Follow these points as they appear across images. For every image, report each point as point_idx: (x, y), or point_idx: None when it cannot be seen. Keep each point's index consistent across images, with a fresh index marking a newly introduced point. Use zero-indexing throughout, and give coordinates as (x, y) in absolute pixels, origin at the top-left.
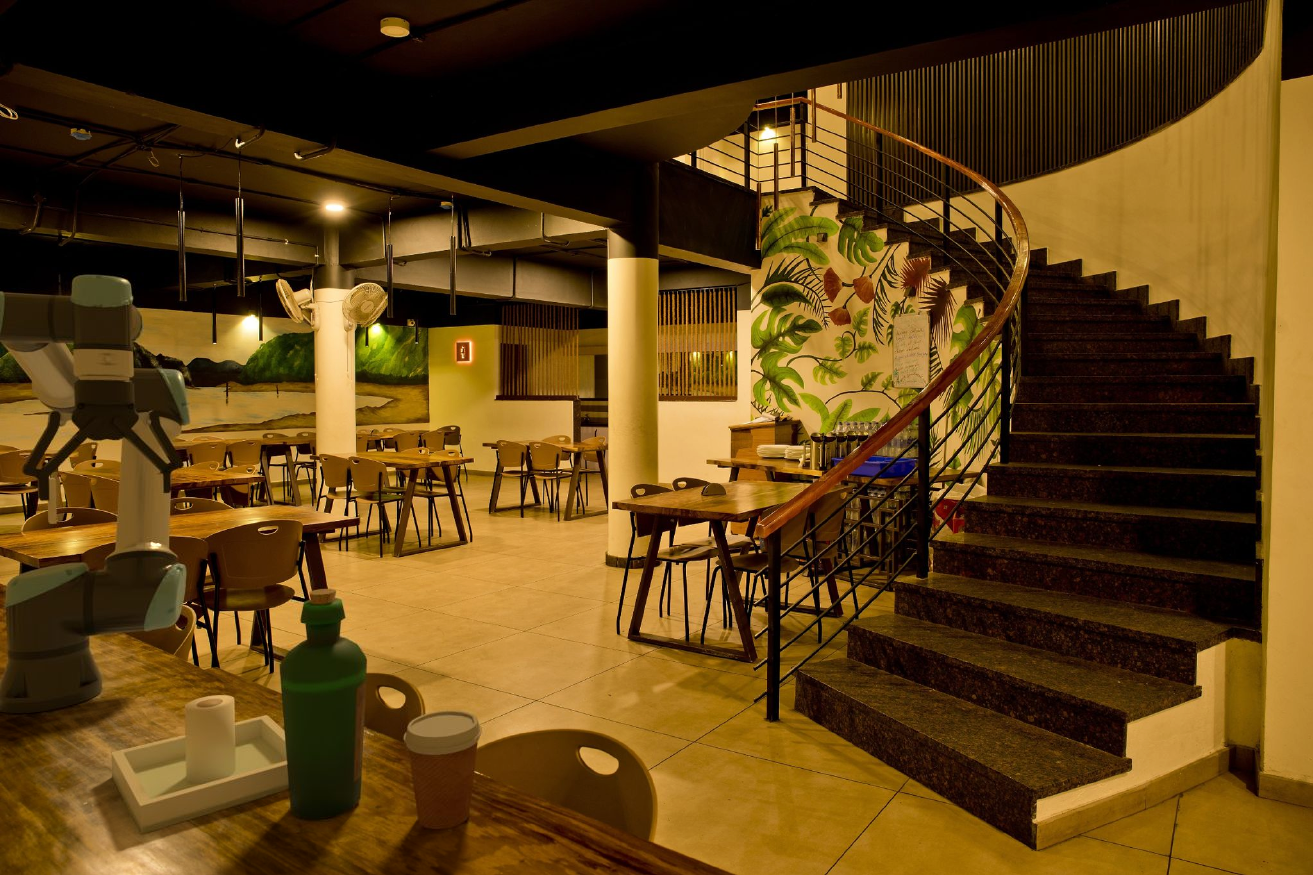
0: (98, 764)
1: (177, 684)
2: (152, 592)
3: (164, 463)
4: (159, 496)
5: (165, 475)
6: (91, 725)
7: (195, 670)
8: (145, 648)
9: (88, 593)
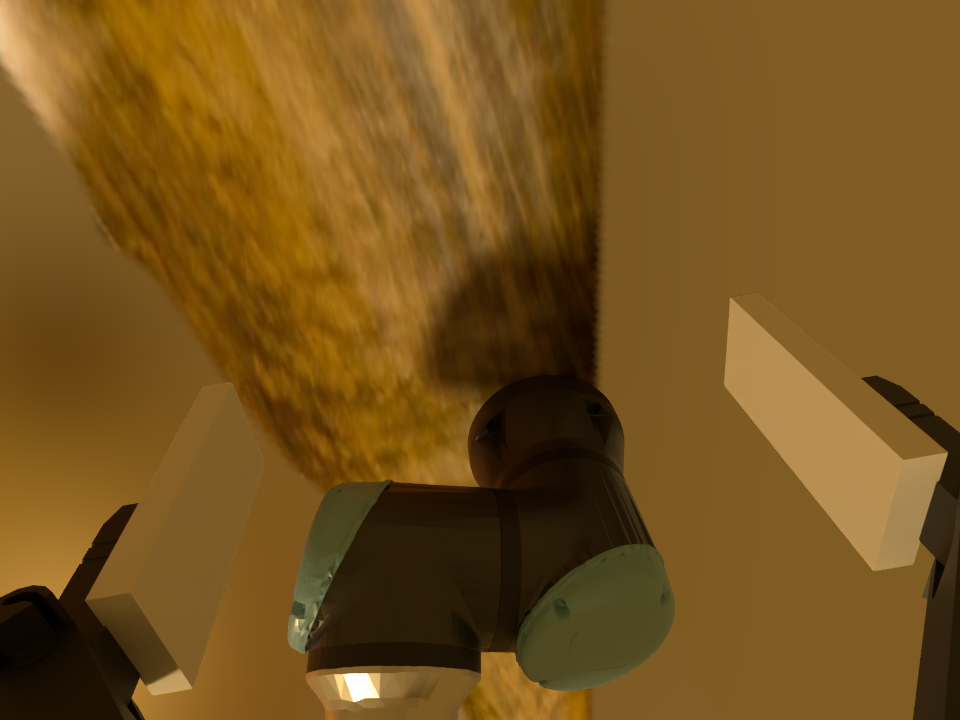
0: (464, 14)
1: (344, 413)
2: (367, 529)
3: (20, 707)
4: (187, 457)
5: (86, 616)
6: (481, 261)
7: (316, 476)
8: None
9: (510, 546)
